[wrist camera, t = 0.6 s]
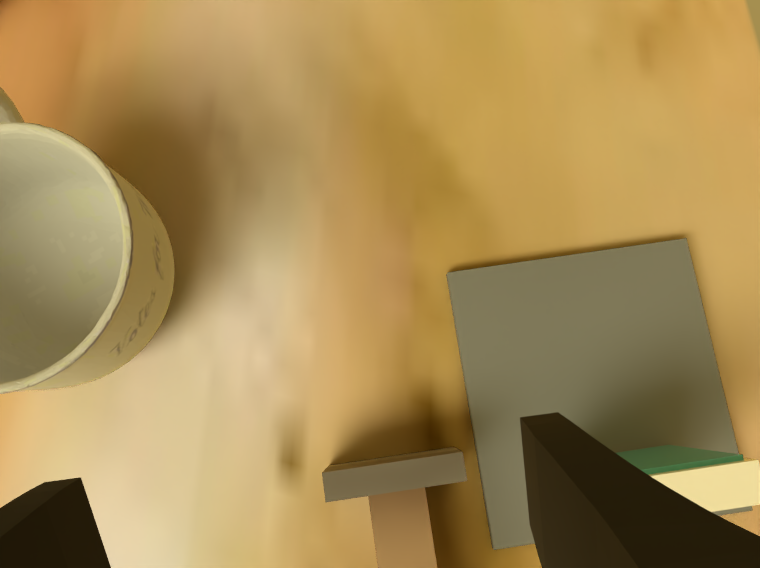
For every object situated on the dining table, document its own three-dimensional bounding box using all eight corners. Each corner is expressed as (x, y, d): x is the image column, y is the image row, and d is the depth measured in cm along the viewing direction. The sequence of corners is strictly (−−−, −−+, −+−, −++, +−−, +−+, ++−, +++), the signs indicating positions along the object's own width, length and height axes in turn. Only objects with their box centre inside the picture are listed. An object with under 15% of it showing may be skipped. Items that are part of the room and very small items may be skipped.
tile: (679, 480, 30) (769, 503, 23) (551, 500, 29) (602, 528, 23) (671, 443, 30) (756, 454, 23) (544, 462, 30) (592, 478, 23)
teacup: (203, 379, 31) (142, 370, 23) (-19, 413, 31) (-158, 416, 23) (177, 115, 34) (114, 27, 26) (-29, 146, 34) (-156, 66, 26)
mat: (746, 508, 30) (752, 510, 29) (492, 547, 29) (494, 549, 29) (681, 240, 32) (686, 238, 32) (446, 274, 32) (447, 272, 31)
